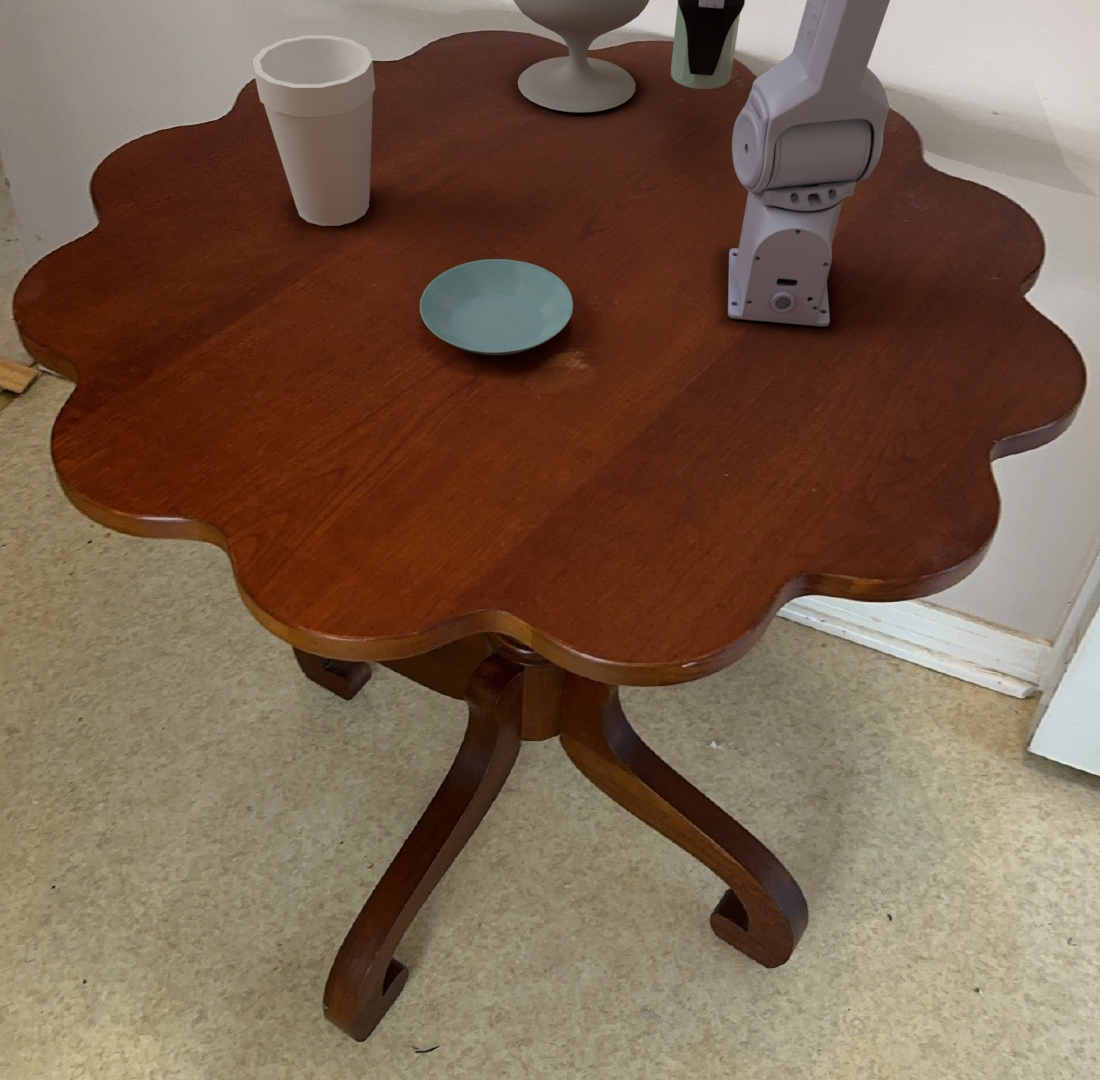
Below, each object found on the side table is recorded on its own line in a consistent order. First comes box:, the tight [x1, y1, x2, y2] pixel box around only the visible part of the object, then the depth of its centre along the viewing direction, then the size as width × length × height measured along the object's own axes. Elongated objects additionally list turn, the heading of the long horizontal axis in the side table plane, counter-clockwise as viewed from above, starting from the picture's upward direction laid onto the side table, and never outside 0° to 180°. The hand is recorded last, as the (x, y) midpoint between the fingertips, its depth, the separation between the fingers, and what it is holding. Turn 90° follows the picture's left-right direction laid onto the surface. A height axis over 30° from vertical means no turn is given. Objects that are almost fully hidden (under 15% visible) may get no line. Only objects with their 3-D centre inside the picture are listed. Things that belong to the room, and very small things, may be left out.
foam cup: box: [252, 34, 376, 227], centre depth 92 cm, size 10×9×13 cm
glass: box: [670, 3, 741, 90], centre depth 98 cm, size 6×6×7 cm
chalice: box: [513, 0, 650, 113], centre depth 107 cm, size 14×14×15 cm
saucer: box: [419, 258, 574, 356], centre depth 85 cm, size 12×12×2 cm
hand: (702, 58), depth 99 cm, fingers closed on glass, 5 cm apart
